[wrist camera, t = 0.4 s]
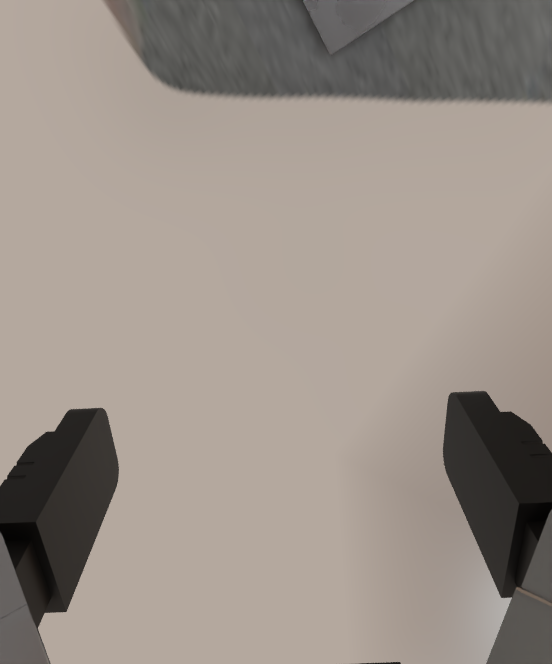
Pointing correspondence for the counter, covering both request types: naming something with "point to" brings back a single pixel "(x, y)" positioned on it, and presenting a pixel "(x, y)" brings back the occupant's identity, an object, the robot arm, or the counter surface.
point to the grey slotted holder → (349, 18)
